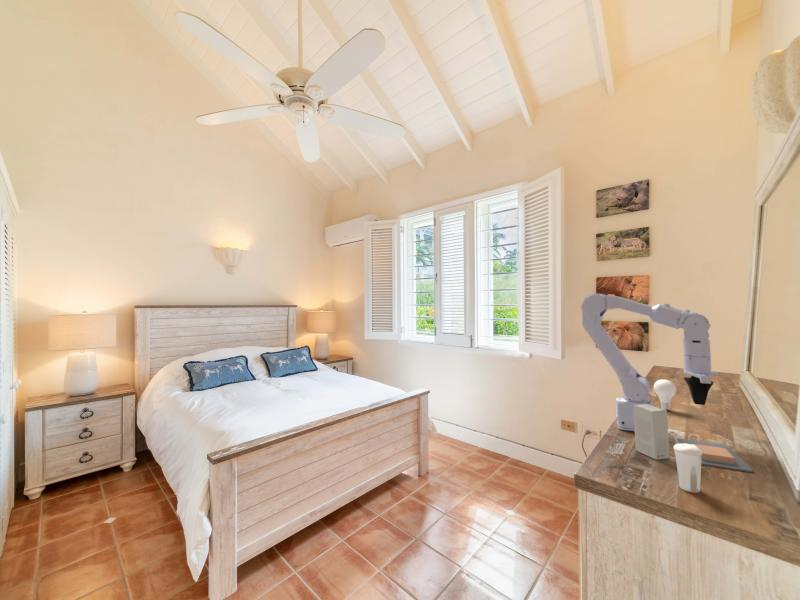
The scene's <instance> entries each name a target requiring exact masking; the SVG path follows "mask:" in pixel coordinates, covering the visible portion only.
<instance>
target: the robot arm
mask: <svg viewBox="0 0 800 600" xmlns="http://www.w3.org/2000/svg"><path fill="white" fill-rule="evenodd" d="M580 308H581V309H580V310H581V317H582V320H581V321H582V327H583V328H584V329H585V331H586V332H587V334H588V335H589V337H590V338H591V340H592V341H593V342H594V344H595V346H596V347H597V348H598V350H599V351H600V352H601V353H602V356H603V357H604V358H605V359H606V361H607V362H608V364H609V365H610V366H611V368H612V370H613V371H614V372H615V373H616V376H617V378H618V382H619V383H620V384H621V387H622V391H623V394H624V395H623V397H616V398H615V407H616V408H615V411H616V413H615V414H616V415H615V421H616V425H617V428H618V429H619V430H623V431H631V432H635V426H634V406H633V405H640V404H648V405H651V406H653V399H652V398H651V397H650V395H649V392H650V391H651V382H650V381H649V380H648V378H646V377H645V376H643V375H642V374H641V373H639V371H638V370H637V369H636V368H634V366H632V365H631V363H630V361H629V360H628V359H627V357H626V356H625V355H624V353H623V352H622V351H621V350H620V348H619V346H618V345H617V344H616V342H615V341H614V340H613V339H612V337H611V336H610V334H609V333H608V331H606V329H605V328H604V326H603V325H602V321H603V318H604V315H605V313H606V312H607V311H608V310H615V309H621V310H625V311H629V312H632V313H636V314H640V315H643V316H648V317H649V318H650V320H651V322H653V323H657V324H660V325H663V326H665V327H670V328H673V329H676V330H679V329H683V338H682V345H683V346H682V347H683V349H682V350H683V364H684V365H683V367H684V369H683V374H685V375H689V376H690V377H689V376H688V377H686V376H684V377H683V380H684V381H685V382H686V384H687V386H688V388H689V389H688V390H689V392H690V396H691V399H692V402H693V404H695V405H702V406H705V405H706V401H707V398H708V393H709V391H710V389H711V388H712V386H714V381H712V376H718V372H716V371H712V358H711V357H712V356H711V340H710V339H709V338H710V333H709V329H710V328H711V324H710V322H709V319H708V318H707V317H706V316H705V315H704V314H703V315H702V314H701V313H698V312H691V309H688V308H686V310H684V309H682V308H678V307H675V306H671V304H669V303H666V302H665V303H664V304H662V303H658V304H656V305H652V306H651V305H649V304H645V303H643V302H639V301H636V300H631V299H628V298H625V297H622V296H617V295H609V294H603V293H590V294H587V295H586V296H585V297H584V298H583V301H582V303H581V306H580ZM616 418H617V419H616Z"/></svg>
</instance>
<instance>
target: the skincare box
mask: <svg viewBox="0 0 800 600" xmlns="http://www.w3.org/2000/svg"><path fill="white" fill-rule="evenodd" d="M633 406H634V426H635V431H634V446H635V451H637V452H638V453H641V454H642V455H645V456H647V457H649V458H651V459H654V460H666V459H667V460H668V459H670V446H669V444H670V443H669V442H670V441H669V425H668V410H664V409H662V408H661V407H660V408H659V407H657V406H654V405H652V406H651V405H648V404H640V405H633Z"/></svg>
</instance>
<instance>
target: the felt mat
mask: <svg viewBox="0 0 800 600" xmlns="http://www.w3.org/2000/svg"><path fill="white" fill-rule="evenodd" d="M673 438H674V437H673ZM676 438H677V437H676ZM673 440H674V441H675V438H674V439H673ZM677 441H678V443H679V444H684V443H686V444H693V445H694V444H697V445H705V446H712V447H720V448H725V449H726V450H727V451H728V452H729V453H730V454H731V455H732V456H733V457H734V461H735V465H732V464H726V463H719V462H712V461H706V460H702V463H701V466H706V467H707V466H708V467H713V468H718V469H720V468H721V469H727V470H731V471H732V470H734V471H739V472H744V473H745V472H746V473H751V474H754V472H755V471H754V470H753V469H752V467H750V466H749V465H748V464H747V463H746V462H745V461H744V460H743V459H742V458H741V457H740V456H739V455H738V454H737V453H735V451H734V450H733V449H732V448H731V447H730V446H728V445H727V444H725V443H724V444H723V443H717V442H716V443H715V442H710V441H709V442H708V441H701V440H695V439H685V438H684V439H683V438H677Z"/></svg>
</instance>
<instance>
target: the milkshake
mask: <svg viewBox="0 0 800 600" xmlns="http://www.w3.org/2000/svg"><path fill="white" fill-rule="evenodd" d="M673 438H675V440H674V441H675V444H674V445H673V453H674V458H675V459H674V461H675V464H676V470H677V477H678V478H677V479H678V485H679V488H680V489H682V490H683V491H685V492H688V493H693V494H698V493H701V480H702V478H701V477H702V476H701V475H702V465H701V463H702V451H701V450H700V449H699V448H698V447H697V446H695V445H693V444H686V443H684V444H679V443H678V441H677V436H676V434H673Z"/></svg>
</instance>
